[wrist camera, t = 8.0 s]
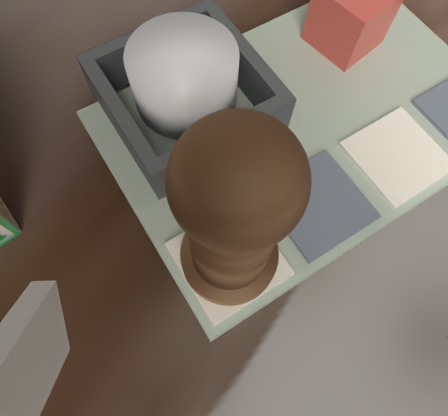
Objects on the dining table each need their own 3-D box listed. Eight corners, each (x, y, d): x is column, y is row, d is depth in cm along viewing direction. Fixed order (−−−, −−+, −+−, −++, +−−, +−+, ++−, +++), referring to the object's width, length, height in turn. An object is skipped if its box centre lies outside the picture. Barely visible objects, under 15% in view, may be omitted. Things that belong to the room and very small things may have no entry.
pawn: (164, 243, 21) (114, 117, 11) (242, 198, 22) (266, 44, 12) (213, 325, 20) (211, 272, 9) (294, 272, 21) (375, 171, 10)
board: (75, 111, 26) (51, 66, 22) (356, -20, 31) (376, -75, 27) (210, 342, 21) (209, 335, 17) (521, 137, 26) (575, 95, 22)
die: (300, 37, 27) (315, -21, 23) (338, 9, 28) (359, -51, 24) (344, 72, 26) (368, 17, 22) (382, 42, 27) (411, -16, 23)
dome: (118, 83, 24) (103, 39, 21) (203, 44, 25) (201, -3, 22) (167, 157, 22) (158, 121, 19) (255, 111, 23) (262, 69, 20)
